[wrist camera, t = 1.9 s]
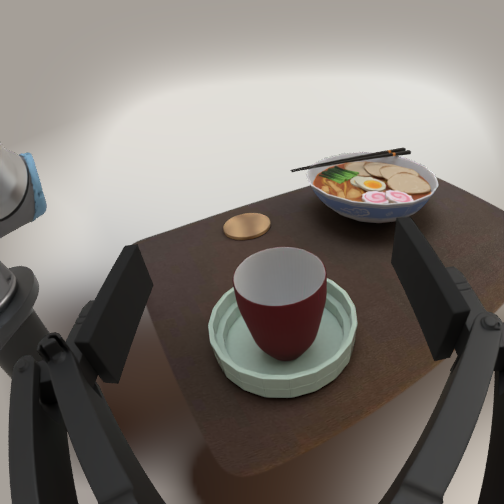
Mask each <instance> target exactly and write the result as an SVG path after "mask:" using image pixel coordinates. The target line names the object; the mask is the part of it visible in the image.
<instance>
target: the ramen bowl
mask: <svg viewBox="0 0 504 504" xmlns="http://www.w3.org/2000/svg"><path fill="white" fill-rule="evenodd" d="M407 154H411V151H409V150H407V151H405V148H398V149H393V150H387V151H381V152H376V153H369V152H360V153H345V154H339V155H336V156H331V157H327V158H324V159H322V160H320V161H318V162H316V163H315V164H312V165H311V166H307V167H302V168H298V169H299V170H298V169H293V170H295V171H300V170H306V169H309V170H308V172H307V173H306V176H307V178H308V181H309V183H310V185H311V187H312V189H313V191H314V192H315V194H316V195H317V196H318V197H319V199H320V200H321V201H322V202H323V203H324V204H325V205H327V206H328V207H329V208H331V209H332V210H334V211H336V212H337V213H339V214H340V215H343V216H345V217H348V218H351V219H354V220H357V221H360V222H371V223H385V222H394V221H396V218H397V217H408V216H410V215H413V214H415V213H416V212H417V211H419V210H420V209H421V208H422V207H423V206H424V205H425V204H426V203H427V201H428V200H429V199H430V197H431V196H432V195H433V193H434V192H435V190H436V189H437V187H438V186H439V185H438V182H437V179H436V176H435V174H434V173H432V172H431V171H430V170H429V169H427V168H426V167H425V166H424V165H421V164H419V163H417V162H414V161H412V160H409V159H407V158H403V157H399V156H398V155H407ZM293 170H291V171H292V172H295V171H293Z"/></svg>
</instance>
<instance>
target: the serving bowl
mask: <svg viewBox="0 0 504 504" xmlns="http://www.w3.org/2000/svg"><path fill="white" fill-rule="evenodd" d="M208 328H209V337H210V343H211V346H212V348H213V351H214V354H215V357H216V359H217V362H218V364H219V365H220V367H221V369H222V370H223V372H224V373H225V375H226V377H227V378H229V379H230V380H231V381H233V382H234V383H235V384H237V385H238V386H239V387H241V388H242V389H243V390H245V391H248V392H251V393H254V394H257V395H261V396H264V397H275V398H291V397H296V396H300V395H304V394H307V393H311V392H314V391H317V390H318V389H320V388H322V387H323V386H325V385H326V384H328V383H329V382H331V381H333V380H334V379H335V378H337V376H338V375H339V374H340V373H341V371H342V370H343V369H344V368H345V366H346V365H347V364H348V363H349V360H350V357H351V354H352V351H353V348H354V344H355V337H356V330H357V317H356V309H355V306H354V304H353V302H352V301H351V299H350V297H349V296H348V294H347V292H346V291H345V290H343V289H342V288H341V287H340V286H338V285H337V284H336V283H335V282H333V281H332V280H329V279H327V295H326V303H325V307H324V311H323V315H322V319H321V322H320V326H319V330H318V333H317V336H316V338H315V340H314V342H313V343H312V345H311V346H310V347H309V348H308V350H307V351H305V352H304V353H303V354H302V355H301V356H300V357H298V358H297V359H295V360H291V361H280V360H277V359H275V358H273V357H271V356H270V355H268V354H267V353H265V352H264V351H263V350H261V349H260V348H259V346H258V345H257V344H256V343H255V341H254V339H253V337H252V335H251V333H250V331H249V329H248V327H247V325H246V323H245V321H244V319H243V317H242V315H241V313H240V311H239V308H238V305H237V302H236V297H235V292H234V287H233V288H232V289H230V290H229V291H228V292H226V293H225V294H224V295H223V296H222V297H221V299H220V300H219V301H218V303H217V304H216V305H215V307H214V308H213V311H212V314H211V317H210V321H209V324H208Z"/></svg>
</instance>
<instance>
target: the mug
mask: <svg viewBox="0 0 504 504" xmlns="http://www.w3.org/2000/svg"><path fill="white" fill-rule="evenodd" d="M233 287H234V292H235V297H236V302H237V305H238V308H239V311H240V313H241V315H242V317H243V319H244V321H245V323H246V325H247V327H248V329H249V331H250V333H251V335H252V337H253V339H254V341H255V343H256V344H257V345H258V346H259V348H260V349H261V350H263V351H264V352H265V353H267V354H268V355H270V356H271V357H273V358H275V359H277V360H280V361H291V360H295V359H297V358H298V357H300V356H301V355H302V354H303V353H304V352H305V351H307V350H308V348H309V347H310V346H311V345H312V343H313V342H314V340H315V338H316V336H317V333H318V330H319V326H320V322H321V319H322V315H323V311H324V307H325V303H326V295H327V274H326V268H325V266H324V264H323V262H322V261H321V260H320V259H319V258H318V257H317V256H316V255H314V254H313V253H311V252H309V251H306V250H303V249H300V248H295V247H274V248H269V249H265V250H262V251H259V252H256V253H254V254H252V255H250V256H249V257H247V258H246V259H245V260H243V261H242V262H241V263H240V264H239V265H238V267H237V268H236V270H235V272H234V275H233Z"/></svg>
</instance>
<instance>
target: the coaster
mask: <svg viewBox="0 0 504 504" xmlns="http://www.w3.org/2000/svg"><path fill="white" fill-rule="evenodd" d="M269 228H270V220H269V218H268V217H267V216H265V215H263V214H259V213H246V214H241V215H238V216H235V217H233V218H231V219H229V220H228V221H227V222H226V223H225V225H224V227H223V229H224V233H225V235H226V236H227V237H229V238H231V239H235V240H249V239H254V238H257V237H259V236H261V235H263V234H265V233H266V232H267V231H268V230H269Z"/></svg>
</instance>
